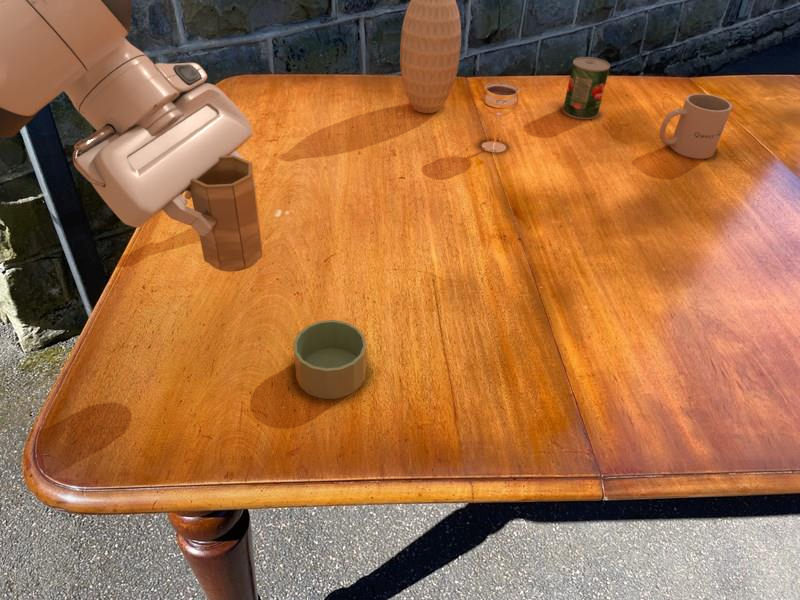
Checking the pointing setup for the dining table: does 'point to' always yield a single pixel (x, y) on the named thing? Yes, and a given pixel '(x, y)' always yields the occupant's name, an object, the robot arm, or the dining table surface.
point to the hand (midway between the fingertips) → (232, 210)
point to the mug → (698, 125)
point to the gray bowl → (330, 359)
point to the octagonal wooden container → (229, 214)
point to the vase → (430, 52)
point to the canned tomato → (586, 87)
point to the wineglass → (499, 108)
